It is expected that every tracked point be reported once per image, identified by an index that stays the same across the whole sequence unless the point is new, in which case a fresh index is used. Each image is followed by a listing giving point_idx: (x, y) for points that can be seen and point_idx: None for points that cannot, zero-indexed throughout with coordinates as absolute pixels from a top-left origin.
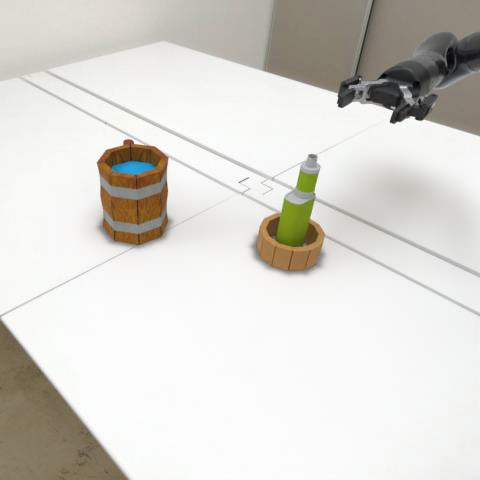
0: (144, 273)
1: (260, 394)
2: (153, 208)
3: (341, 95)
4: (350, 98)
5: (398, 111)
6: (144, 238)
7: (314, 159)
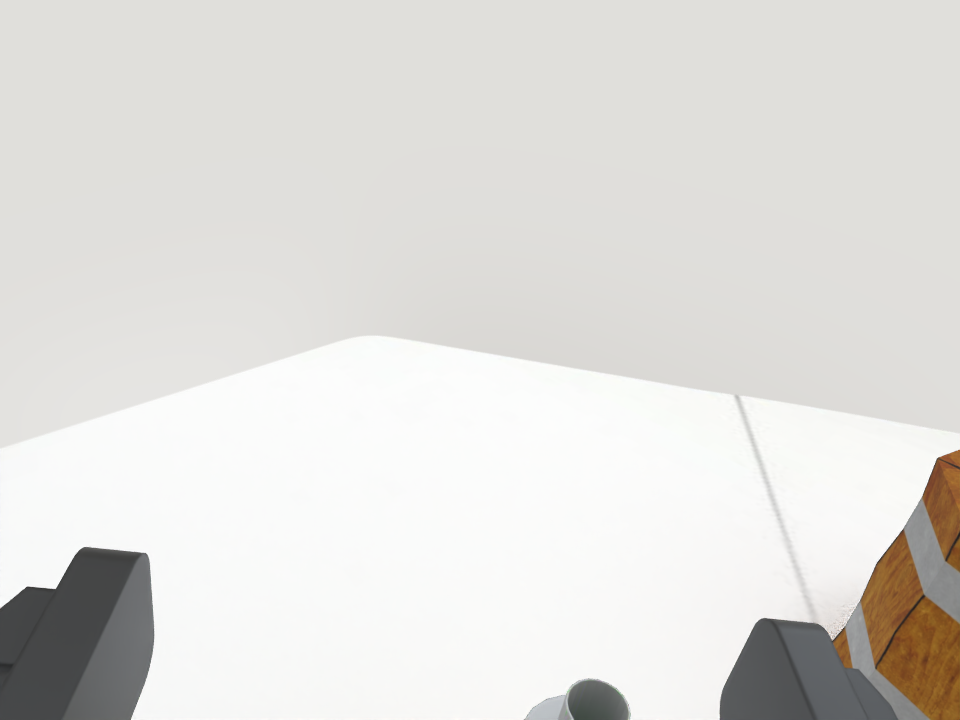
0: (699, 579)
1: (261, 469)
2: (887, 607)
3: (807, 624)
4: None
5: (80, 556)
6: None
7: (569, 692)
